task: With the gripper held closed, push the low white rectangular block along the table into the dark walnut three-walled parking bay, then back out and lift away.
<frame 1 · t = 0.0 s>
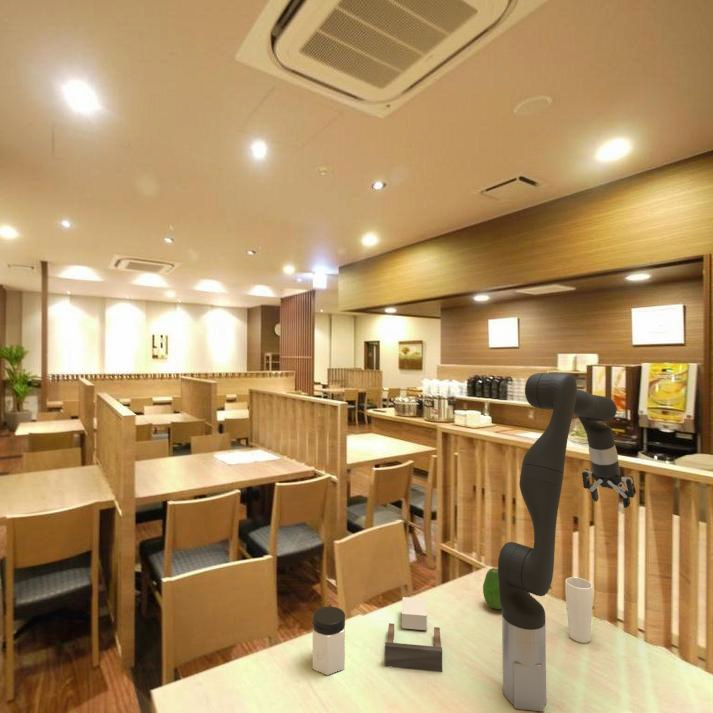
hand: (611, 503, 137), 31 cm above the table, tool tilted 20°, fingers open, 8 cm apart
parking bay: (413, 650, 114), on the table
white rectangular block: (414, 622, 127), on the table
jar: (328, 664, 109), on the table
avocado: (496, 608, 134), on the table
drinking glass: (579, 638, 119), on the table
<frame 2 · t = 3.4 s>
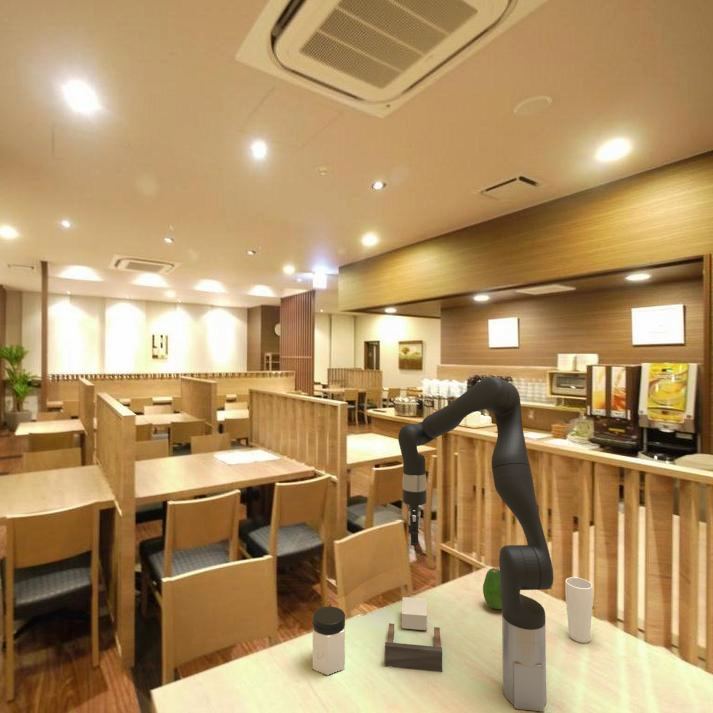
hand: (414, 541, 137), 19 cm above the table, tool pointing down, fingers open, 5 cm apart
nothing on the table moved.
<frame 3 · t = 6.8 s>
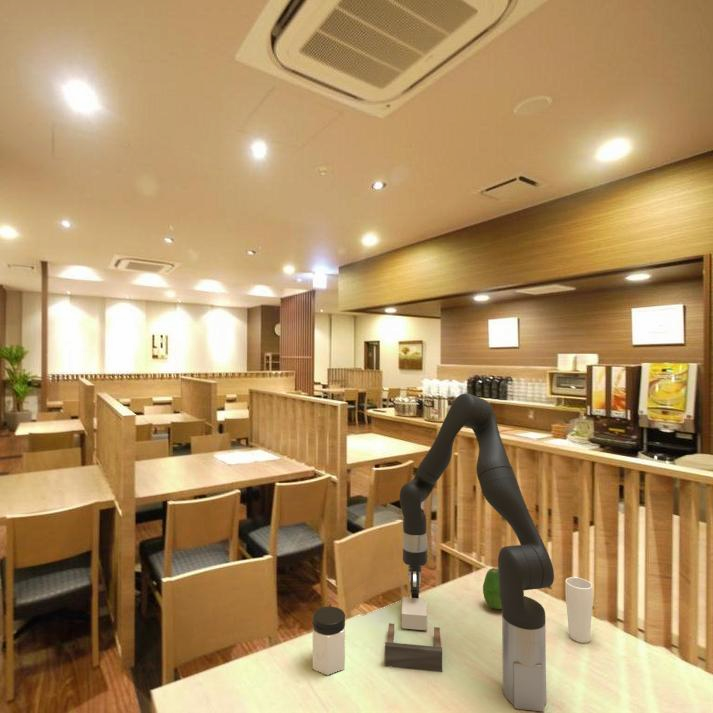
hand: (415, 603, 133), 2 cm above the table, tool pointing down, fingers closed
white rectangular block: (414, 622, 127), on the table, touching gripper
everything else where it was.
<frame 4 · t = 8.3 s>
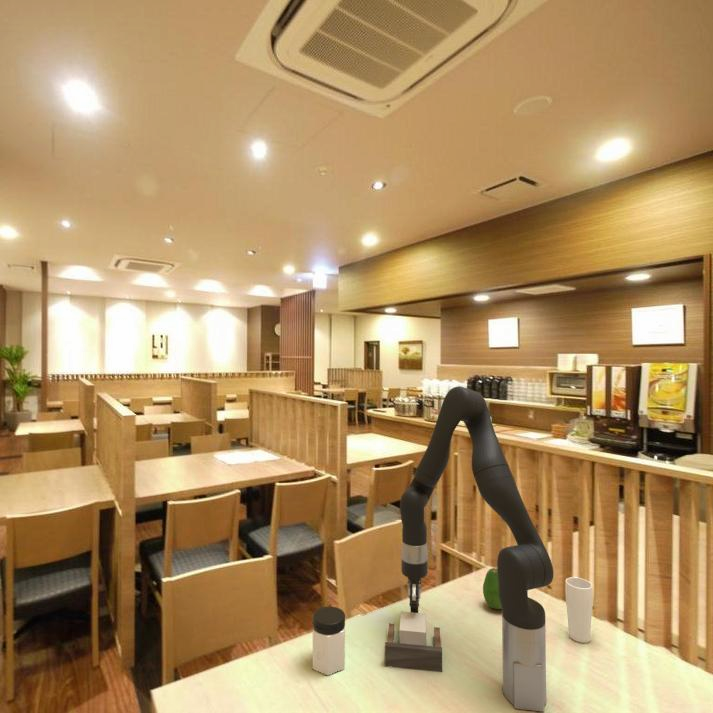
hand: (414, 617, 126), 2 cm above the table, tool pointing down, fingers closed
white rectangular block: (413, 638, 119), on the table, touching gripper
everything else where it was.
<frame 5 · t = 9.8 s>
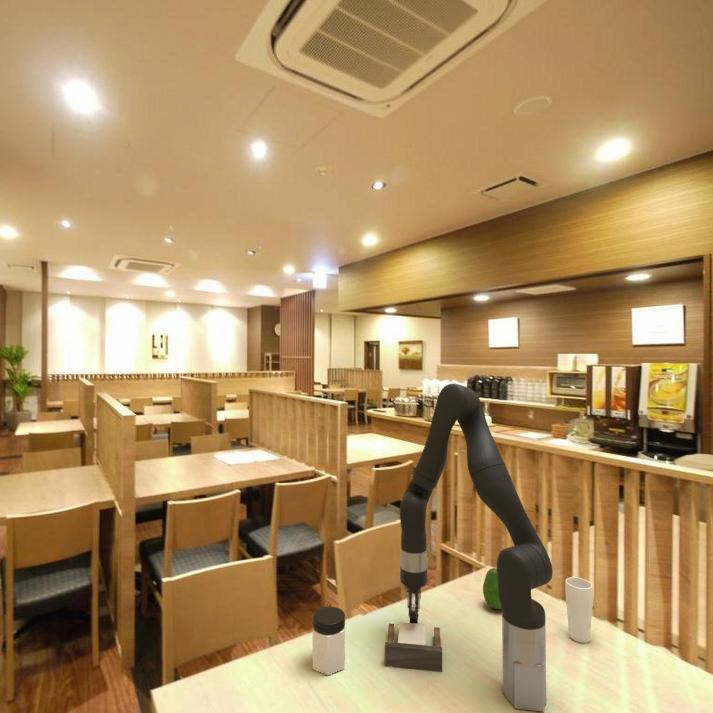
hand: (413, 627, 120), 2 cm above the table, tool pointing down, fingers closed
white rectangular block: (412, 650, 114), on the table, touching gripper
everything else where it was.
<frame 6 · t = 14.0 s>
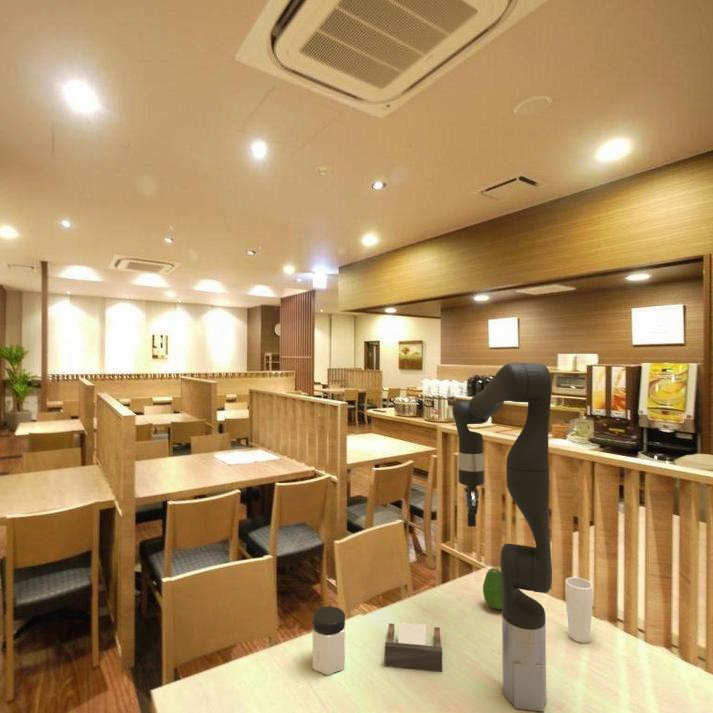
hand: (471, 525, 130), 27 cm above the table, tool pointing down, fingers closed
white rectangular block: (412, 651, 114), on the table
everything else where it was.
at the end: white rectangular block 0.5 cm off-centre on the parking bay, point 0.0 cm above the parking bay's base; white rectangular block tilted 0°; the gripper is holding nothing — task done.
